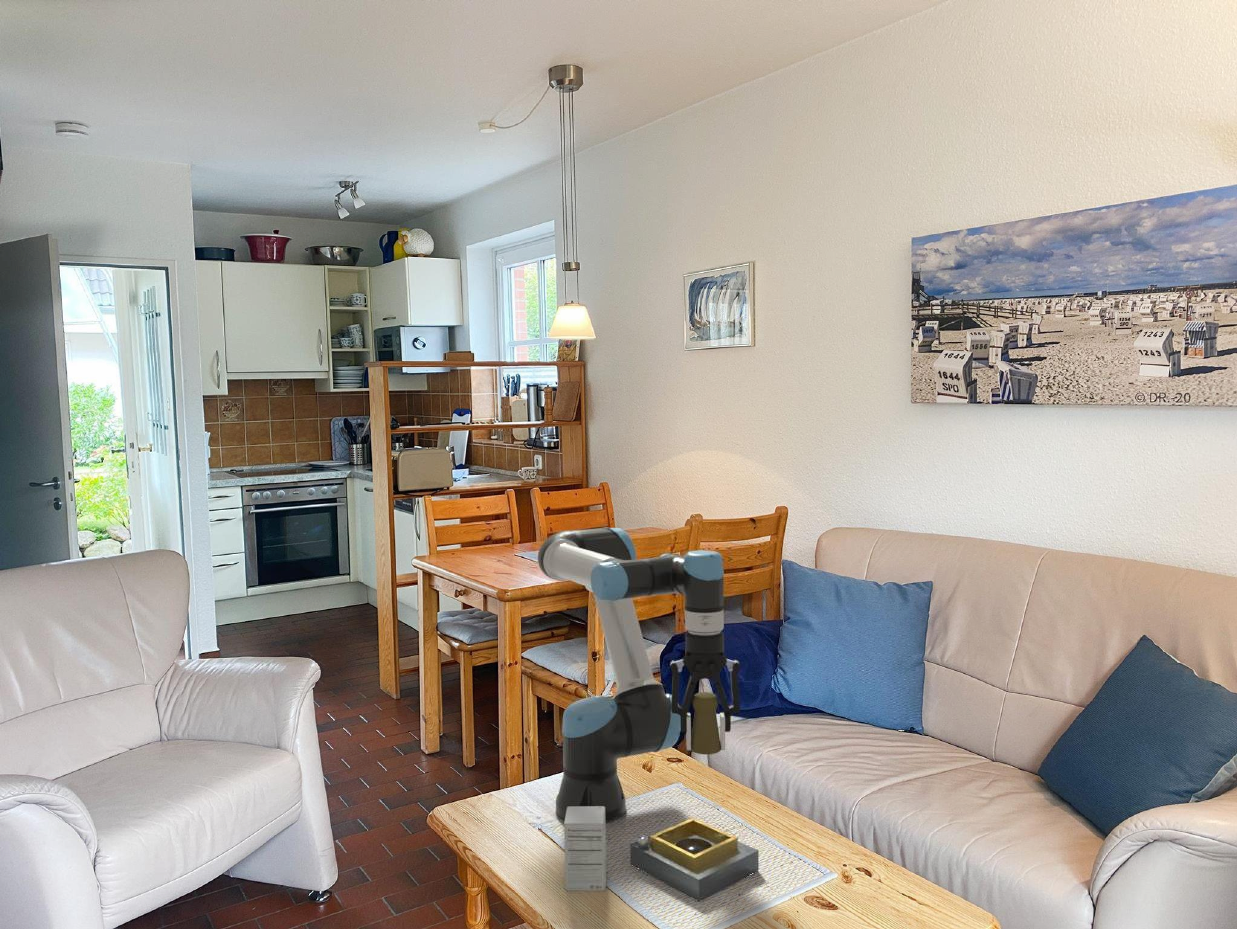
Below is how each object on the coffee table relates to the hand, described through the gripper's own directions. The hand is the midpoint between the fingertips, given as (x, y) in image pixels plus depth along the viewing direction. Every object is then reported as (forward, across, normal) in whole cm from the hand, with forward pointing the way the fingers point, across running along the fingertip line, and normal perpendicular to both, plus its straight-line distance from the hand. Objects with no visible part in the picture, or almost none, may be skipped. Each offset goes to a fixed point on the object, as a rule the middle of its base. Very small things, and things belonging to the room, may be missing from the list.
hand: (705, 747), depth 180 cm
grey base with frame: (+20, -3, -8) cm, 22 cm away
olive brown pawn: (0, 0, 0) cm, 1 cm away
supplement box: (+20, -23, -13) cm, 33 cm away
